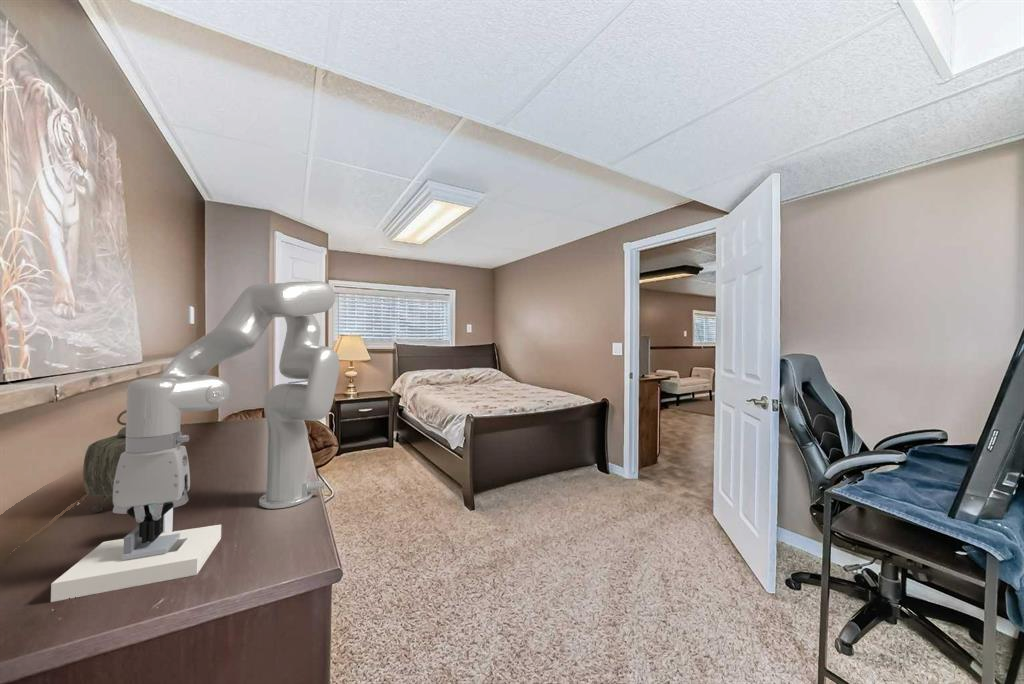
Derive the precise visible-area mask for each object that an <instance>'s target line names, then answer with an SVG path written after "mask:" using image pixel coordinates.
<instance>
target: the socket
mask: <svg viewBox="0 0 1024 684" xmlns="http://www.w3.org/2000/svg"><path fill="white" fill-rule="evenodd" d="M178 533H180V538H179V539H178V540H177V541H176V542H175V543H174V545H173V546H172V547H171V548H170V549H169V550H168V551H167V553H163V554H157V555H151V556H145V557H139V558H133V559H127V560H122V555H123V554H124V538H118V539H113V540H107V541H102V542H101V543H100V544H99V545H97V547H95V548H94V549H92V550H91V551H90V552H89V553H88V554H87V555H85V556H84V557H82V558H81V559H80V560H79V561H78V562H77V563H75V564H74V565H72V566H71V567H70V568H69V569H68V570H67V571H65V572H64V573H63V574H61V576H59V577H57V578H56V579H55V580H54V581H53V582H52V583H51V584H50V585H51V586H50V588H51V589H50V603H55V602H60V601H64V600H65V601H66V600H69V598H70V599H75V597H76V598H79V597H85V596H91V595H95V594H101V593H107V592H112V591H118V590H124V589H128V588H133V587H140V586H145V585H149V584H155V583H159V582H160V583H161V582H165V581H171V580H176V579H177V580H178V579H181V578H186V577H187V578H188V577H192V576H197V575H198V574H199V572H200V571H201V570H202V567H203V566H204V565H205V563H206V562H207V560H208V559H209V557H210V556H211V554H212V553H213V551H214V550H215V548H216V546H217V545H218V544H219V542H220V540H221V539H222V524H217V525H216V524H214V525H208V526H202V527H195V528H188V529H182V530H175V531H173V530H172V532H166V533H161V534H160V535H159V536H165V535H172V534H178Z"/></svg>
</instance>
